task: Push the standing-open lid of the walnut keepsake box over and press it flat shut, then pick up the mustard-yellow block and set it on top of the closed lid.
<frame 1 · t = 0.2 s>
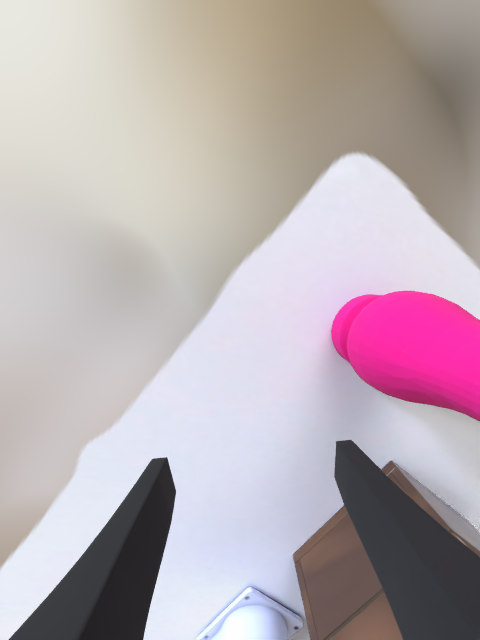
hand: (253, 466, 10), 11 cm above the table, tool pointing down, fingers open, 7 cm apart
pepper mill: (364, 329, 20), on the table
keepsake box: (379, 537, 24), on the table
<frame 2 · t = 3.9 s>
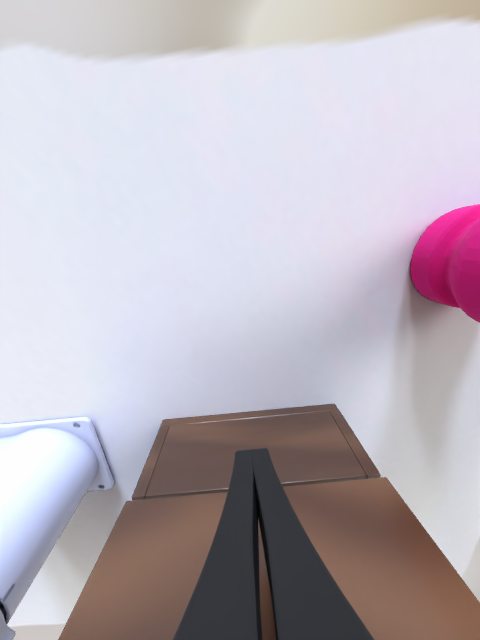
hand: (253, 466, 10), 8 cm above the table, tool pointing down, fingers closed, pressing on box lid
pepper mill: (451, 257, 15), on the table
keepsake box: (253, 462, 21), on the table
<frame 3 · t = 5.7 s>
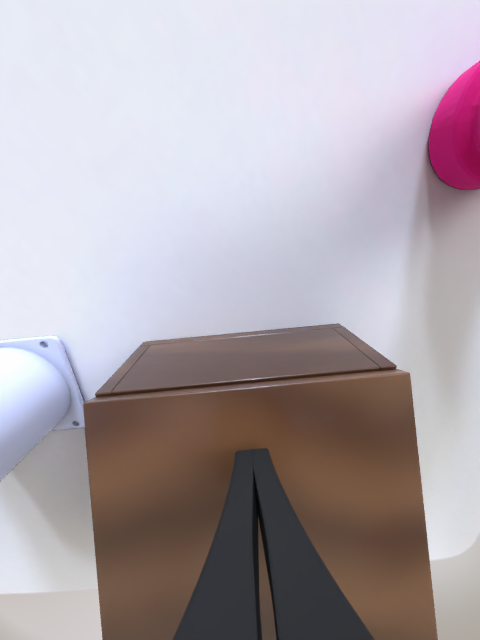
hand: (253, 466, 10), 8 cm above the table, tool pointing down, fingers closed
pepper mill: (477, 131, 13), on the table
keepsake box: (247, 397, 18), on the table
box lid: (258, 521, 10), point 9 cm above the table, hinge at 19.2°
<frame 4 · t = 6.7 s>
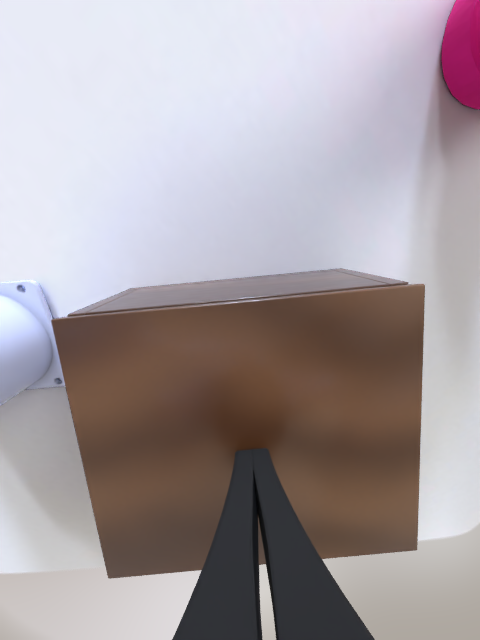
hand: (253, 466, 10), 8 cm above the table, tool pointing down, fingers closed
keepsake box: (243, 354, 17), on the table
box lid: (250, 439, 10), point 8 cm above the table, hinge at 9.9°
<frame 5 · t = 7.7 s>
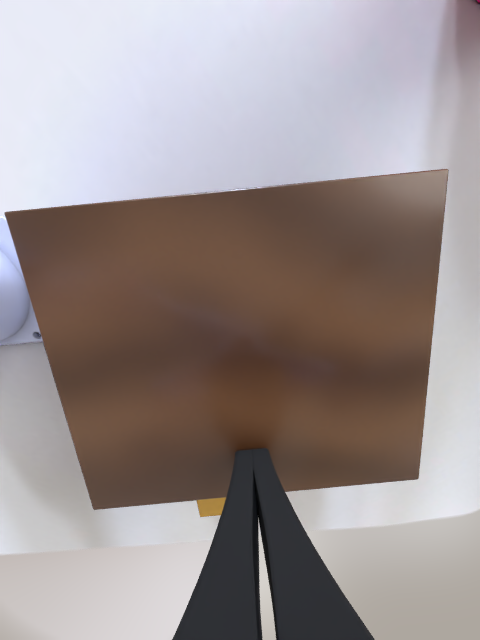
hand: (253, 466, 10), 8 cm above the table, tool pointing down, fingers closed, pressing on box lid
mustard block: (228, 440, 20), on the table
box lid: (242, 362, 9), point 7 cm above the table, hinge at 5.9°, touching gripper
when the fingers open (9 cm above the table, at t = 17.4 s): mustard block stays where it is, resting on box lid.
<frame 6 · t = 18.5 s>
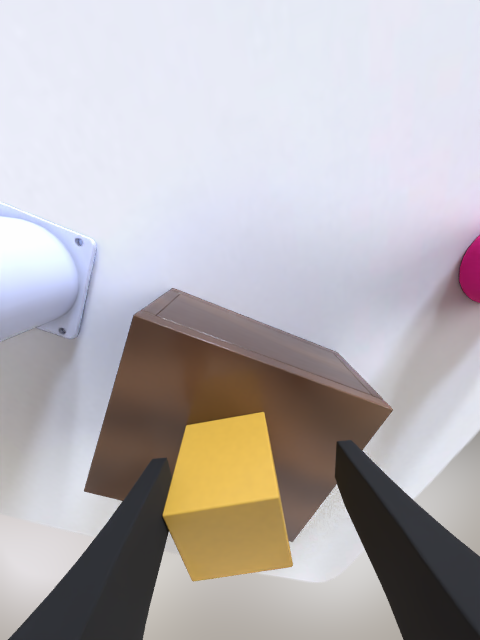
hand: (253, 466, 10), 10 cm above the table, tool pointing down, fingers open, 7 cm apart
mustard block: (232, 447, 13), point 7 cm above the table, touching box lid, gripper
keepsake box: (233, 379, 20), on the table
box lid: (230, 447, 14), point 7 cm above the table, hinge at -0.3°, touching keepsake box, mustard block
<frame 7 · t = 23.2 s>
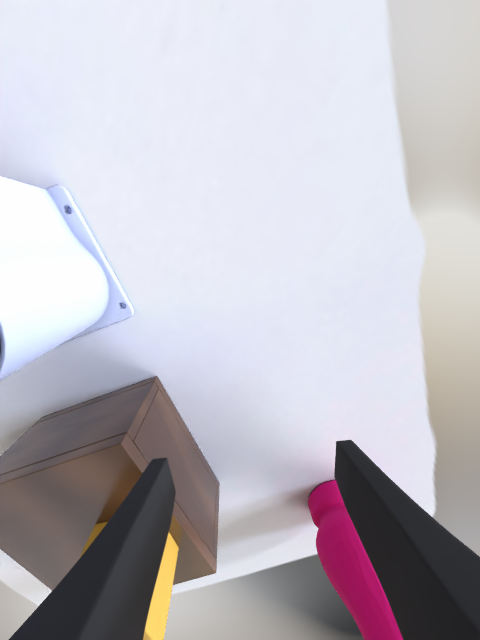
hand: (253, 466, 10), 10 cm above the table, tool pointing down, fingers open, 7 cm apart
pepper mill: (333, 496, 26), on the table
mustard block: (138, 536, 16), point 7 cm above the table, touching box lid
keepsake box: (138, 452, 22), on the table
box lid: (98, 535, 16), point 7 cm above the table, hinge at -0.3°, touching keepsake box, mustard block
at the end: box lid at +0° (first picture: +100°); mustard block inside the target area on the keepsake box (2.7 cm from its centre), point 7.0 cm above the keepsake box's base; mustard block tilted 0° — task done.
